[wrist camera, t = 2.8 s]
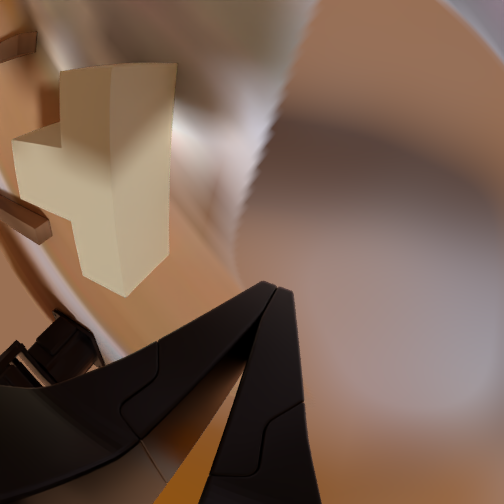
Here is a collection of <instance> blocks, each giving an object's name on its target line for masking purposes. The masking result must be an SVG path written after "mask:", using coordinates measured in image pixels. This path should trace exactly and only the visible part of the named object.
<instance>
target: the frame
mask: <svg viewBox="0 0 504 504" xmlns="http://www.w3.org/2000/svg"><path fill="white" fill-rule="evenodd" d="M36 37H37V32H30V33H23V34H18V35H15V36H13V37H11V38H9V39H7V40H5V41H3V42H1V43H0V63H2V62H5V61H8V60H11V59H14V58H17V57H20V56H23V55H27V54H30V53H33V52H35V49H36ZM0 220H1V221H3V222H4V223H6V224H7V225H9V226H10V227H12V228H13V229H15V230H16V231H18V232H19V233H21V234H22V235H24V236H25V237H27V238H29V239H30V240H32V241H33V242H35V243H37V244H38V245H40V244H42V243H43V242H44V241H46V240H47V239H49V238H50V237H52V232H51V228H50V223H49V220H48V219H46V218H44V217H42V216H40V215H38V214H36V213H34V212H32V211H30V210H28V209H26V208H24V207H22V206H20V205H18V204H16V203H15V202H13V201H11V200H9V199H7V198H5V197H3V196H1V195H0Z"/></svg>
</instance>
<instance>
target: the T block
mask: <svg viewBox="0 0 504 504" xmlns="http://www.w3.org/2000/svg"><path fill="white" fill-rule="evenodd" d="M177 66H178V63H121V64H110V65H101V66H93V67H85V68H78V69H72V70H66V71H61V72H60V122H57V123H54V124H51V125H48V126H45V127H43V128H40V129H37V130H35V131H32V132H29V133H27V134H24V135H22V136H19V137H17V138H14V139H12V140H11V141H12V150H13V157H14V164H15V171H16V177H17V183H18V188H19V193H20V198H21V199H22V200H24V201H27V202H29V203H31V204H33V205H35V206H38V207H40V208H42V209H44V210H47V211H49V212H51V213H53V214H56V215H58V216H60V217H62V218H65V219H67V220H69V221H71V223H72V229H73V234H74V239H75V244H76V248H77V253H78V257H79V261H80V266H81V270H82V274H83V276H85V277H87V278H88V279H90V280H92V281H94V282H96V283H98V284H100V285H102V286H103V287H105V288H107V289H109V290H111V291H113V292H115V293H117V294H119V295H121V296H123V297H125V298H126V297H127V296H128V295H129V294H130V293H131V292H132V291H133V290H134V289H135V288H136V287H137V286H138V285H139V284H140V283H141V282H142V281H143V280H144V279H145V278H146V277H147V276H148V275H149V274H150V273H151V272H152V271H153V270H154V269H155V268H156V267H157V266H158V265H159V264H160V263H161V262H162V261H163V260H164V259H165V258H166V257H167V256H168V255H169V184H170V156H171V137H172V121H173V108H174V96H175V85H176V75H177Z"/></svg>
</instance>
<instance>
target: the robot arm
mask: <svg viewBox="0 0 504 504" xmlns="http://www.w3.org/2000/svg"><path fill="white" fill-rule="evenodd" d="M52 313H53V315H54V318H55V321H54V322H53V323H52V324H51V325H50V326H49V327H48V328H47V329H46V330H45V331H44V332H43V333H42V334H41V335H40V336H39V337H38V338H37V339H36V342H35V343H34V344H33V345H32V347H31V348H30V349H28V350H26V348H25V346H24V345H23V344H22V343H21V344H20V343H19V342H18V341H17V340H16V341H15V342H14V343H13V344H12V345H11V346H10V347H9V348H8V349H7V350H6V351H5V352H3V353H2V354H1V355H0V504H153V502H154V501H155V500H156V498H157V497H158V496H159V494H160V493H161V492H162V490H163V489H164V487H165V486H166V485H167V484H166V483H168V482H169V481H170V479H171V478H172V476H173V475H174V474H175V472H176V471H177V469H178V468H179V467H180V465H181V464H182V462H183V461H184V459H185V458H186V457H187V455H188V454H189V452H190V451H191V450H192V448H193V447H194V445H195V444H196V442H197V441H198V439H199V438H200V436H201V435H202V433H203V432H204V431H205V429H206V428H207V426H208V425H209V423H210V422H211V420H212V418H213V417H214V415H215V414H216V413H217V411H218V409H219V408H220V406H221V405H222V403H223V402H224V400H225V399H226V397H227V396H228V394H229V393H230V391H231V389H232V388H233V386H234V385H235V383H236V382H237V380H238V378H239V377H240V375H241V374H242V372H243V374H242V377H241V381H240V384H239V387H238V390H237V393H236V396H235V399H234V402H233V405H232V408H231V411H230V414H229V418H228V420H227V423H226V426H225V429H224V432H223V435H222V438H221V441H220V444H219V447H218V450H217V453H216V456H215V458H214V461H213V464H212V467H211V470H210V473H209V477H208V478H207V481H206V484H205V487H204V490H203V492H202V495H201V497H200V500H199V503H198V504H322V503H321V499H320V494H319V489H318V484H317V480H316V476H315V471H314V466H313V461H312V457H311V451H310V445H309V440H308V431H307V423H306V412H305V404H304V403H303V402H304V390H303V379H302V369H301V358H300V349H299V340H298V329H297V320H296V312H295V302H294V294H293V292H292V291H290V290H288V289H285V288H282V287H278V288H277V286H276V285H274V284H271V283H268V282H266V281H261V282H259V283H257V284H256V285H254V286H252V287H250V288H249V289H247V290H245V291H244V292H242V293H240V294H238V295H237V296H235V297H233V298H232V299H230V300H228V301H226V302H225V303H223V304H221V305H219V306H218V307H216V308H214V309H212V310H211V311H209V312H207V313H205V314H204V315H202V316H200V317H198V318H197V319H195V320H193V321H191V322H189V323H188V324H186V325H184V326H182V327H181V328H179V329H177V330H175V331H173V332H172V333H170V334H168V335H166V336H164V337H163V338H161V339H159V340H158V342H157V341H155V342H153V343H151V344H149V345H148V346H146V347H144V348H142V349H140V350H138V351H136V352H134V353H132V354H130V355H128V356H126V357H124V358H122V359H119V360H117V361H115V362H112V363H110V364H108V365H105V364H104V362H103V360H102V357H101V355H100V352H99V349H98V347H97V344H96V342H95V339H94V337H93V335H92V334H91V333H89V332H88V331H86V330H85V329H83V328H82V327H80V326H79V325H77V324H76V323H75V322H73V321H72V320H70V319H69V318H67V317H66V316H64V315H63V314H62V313H60V312H59V311H58V310H56V309H54V310H53V311H52ZM18 355H19V356H20V358H21V359H22V360H23V361H24V362H25V364H26V365H27V366H28V367H29V368H30V369H31V370H32V372H33V373H34V374H35V375H36V376H37V377H38V378H39V379H40V380H41V381H42V383H43V384H44V385H45V387H43V386H42V385H41V384H40V383H39V382H38V381H37V380H36V379H35V378H34V376H33V375H32V374H31V373H30V372H29V371H28V370H27V368H26V367H25V366H24V365H23V364H22V363H21V362H19V360H18V359H17V358H16V357H17V356H18ZM10 364H11V365H10ZM93 364H94V365H96V366H97V367H98V369H95V370H93V371H90V372H87V371H88V370H89V369H90V368H91V366H92V365H93ZM86 372H87V373H86Z"/></svg>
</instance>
